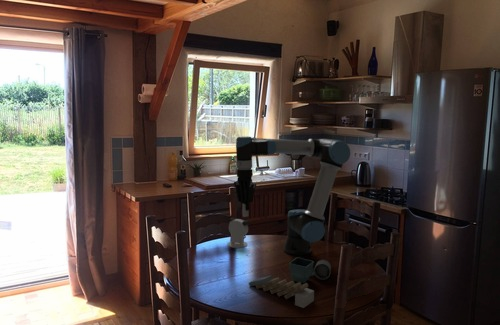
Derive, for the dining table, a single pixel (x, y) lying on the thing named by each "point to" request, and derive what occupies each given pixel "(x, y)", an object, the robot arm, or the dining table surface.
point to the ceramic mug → (322, 270)
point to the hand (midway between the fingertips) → (245, 216)
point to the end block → (304, 297)
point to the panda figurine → (238, 232)
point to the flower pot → (301, 269)
